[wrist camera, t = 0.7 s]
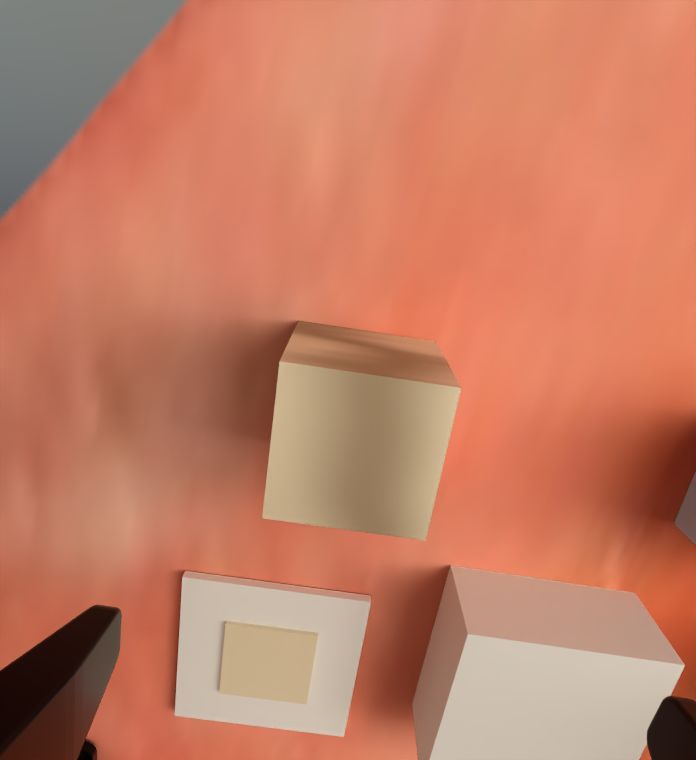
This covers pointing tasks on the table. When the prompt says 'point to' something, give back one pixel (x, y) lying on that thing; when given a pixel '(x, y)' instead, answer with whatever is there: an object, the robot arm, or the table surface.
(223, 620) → the tile
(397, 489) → the birch cube
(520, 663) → the base block
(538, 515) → the table surface
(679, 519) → the slate-blue cube
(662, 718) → the robot arm
